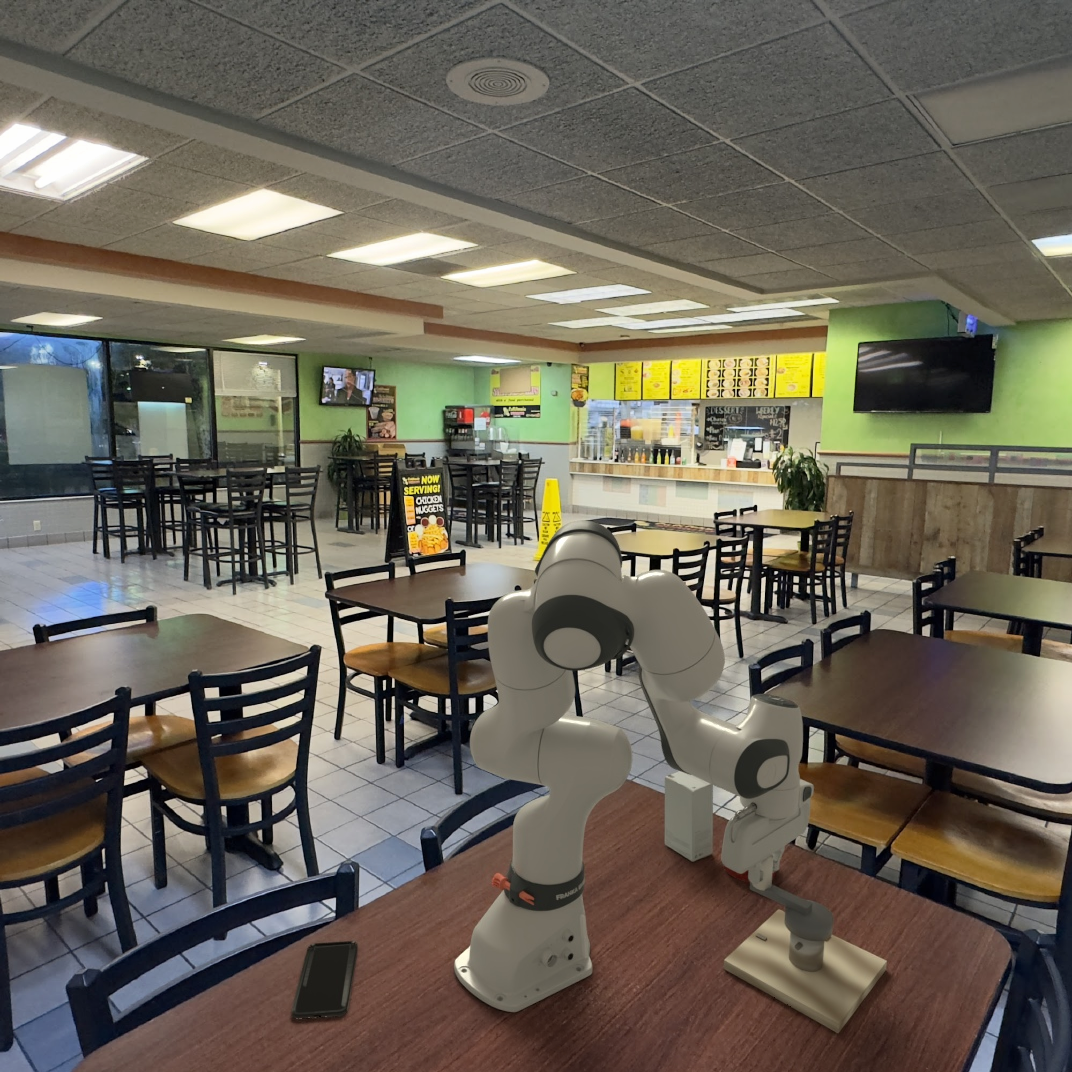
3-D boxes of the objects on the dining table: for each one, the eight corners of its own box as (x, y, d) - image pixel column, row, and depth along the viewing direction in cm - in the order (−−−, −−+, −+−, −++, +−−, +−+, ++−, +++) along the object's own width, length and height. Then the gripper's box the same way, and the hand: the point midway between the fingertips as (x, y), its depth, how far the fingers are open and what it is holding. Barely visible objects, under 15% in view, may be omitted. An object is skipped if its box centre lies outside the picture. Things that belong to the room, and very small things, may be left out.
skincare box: (713, 854, 150) (716, 783, 148) (691, 863, 147) (694, 791, 145) (682, 835, 157) (686, 767, 155) (661, 843, 154) (664, 774, 152)
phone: (358, 940, 122) (346, 1010, 108) (358, 947, 123) (347, 1017, 108) (307, 943, 121) (289, 1014, 107) (308, 950, 122) (289, 1022, 107)
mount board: (838, 1033, 106) (841, 988, 105) (723, 968, 118) (726, 927, 117) (886, 969, 119) (889, 928, 118) (778, 917, 131) (780, 879, 130)
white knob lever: (820, 947, 113) (824, 896, 112) (741, 908, 122) (744, 860, 121) (840, 926, 118) (843, 877, 117) (762, 890, 127) (765, 844, 125)
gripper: (750, 824, 111) (744, 911, 113) (819, 782, 125) (813, 861, 127) (713, 807, 116) (709, 891, 118) (784, 769, 130) (779, 845, 132)
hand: (763, 875), depth 123 cm, fingers open, 3 cm apart
